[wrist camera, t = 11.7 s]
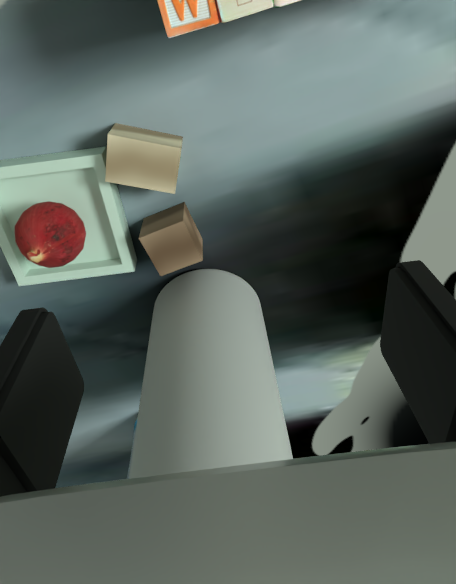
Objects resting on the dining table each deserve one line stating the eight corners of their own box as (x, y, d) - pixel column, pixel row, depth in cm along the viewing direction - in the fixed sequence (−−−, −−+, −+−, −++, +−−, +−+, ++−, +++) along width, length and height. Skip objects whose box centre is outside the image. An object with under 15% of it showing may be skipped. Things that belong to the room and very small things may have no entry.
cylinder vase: (257, 348, 53) (295, 565, 33) (158, 352, 52) (133, 575, 32) (263, 264, 46) (315, 472, 25) (148, 266, 45) (108, 483, 25)
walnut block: (143, 218, 42) (138, 238, 39) (184, 201, 42) (183, 220, 38) (163, 253, 45) (160, 276, 41) (202, 238, 44) (202, 260, 40)
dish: (-24, 163, 38) (-36, 171, 36) (106, 146, 38) (101, 154, 36) (27, 273, 45) (19, 286, 43) (137, 259, 45) (134, 271, 43)
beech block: (115, 122, 37) (107, 134, 34) (182, 136, 38) (181, 148, 35) (112, 166, 39) (105, 181, 36) (176, 178, 40) (174, 193, 37)
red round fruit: (65, 177, 38) (38, 213, 32) (105, 227, 41) (87, 268, 35) (17, 207, 40) (-19, 247, 33) (59, 253, 43) (34, 298, 36)
